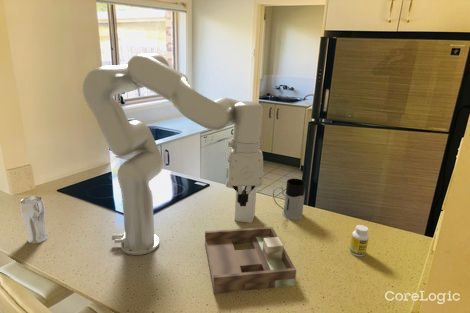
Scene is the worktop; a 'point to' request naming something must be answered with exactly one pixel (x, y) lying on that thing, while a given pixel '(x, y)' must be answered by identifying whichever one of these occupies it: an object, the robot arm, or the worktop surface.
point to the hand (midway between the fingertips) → (242, 204)
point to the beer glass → (34, 218)
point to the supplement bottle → (359, 241)
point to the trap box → (245, 261)
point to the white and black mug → (293, 199)
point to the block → (272, 248)
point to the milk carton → (246, 208)
